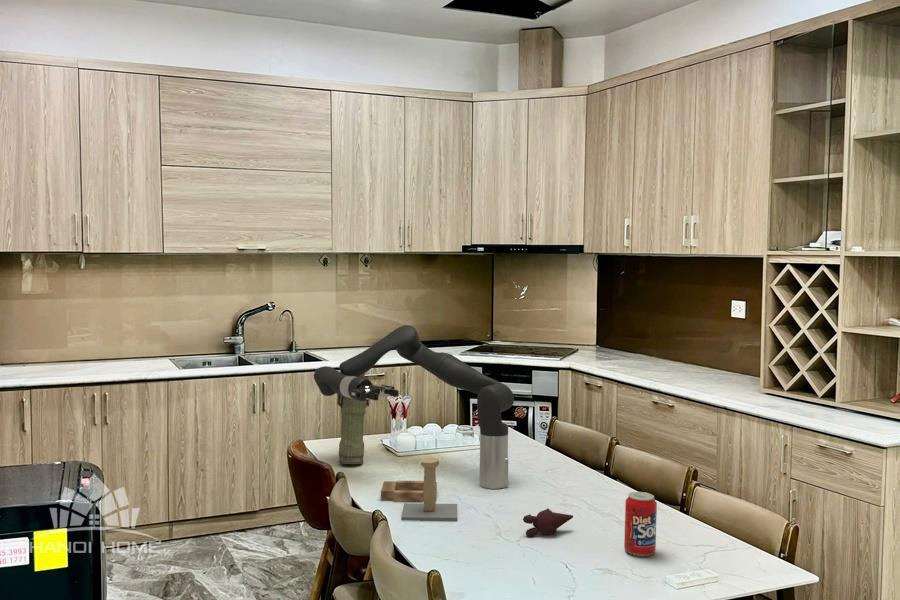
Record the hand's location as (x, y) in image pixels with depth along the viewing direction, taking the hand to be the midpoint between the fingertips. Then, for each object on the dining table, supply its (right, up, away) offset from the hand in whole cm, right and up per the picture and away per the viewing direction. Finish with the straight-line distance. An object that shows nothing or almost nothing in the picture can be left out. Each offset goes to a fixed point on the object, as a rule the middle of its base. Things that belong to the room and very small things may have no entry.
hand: (387, 395), depth 248 cm
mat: (+14, -32, -22) cm, 41 cm away
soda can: (+69, -35, -49) cm, 91 cm away
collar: (+7, -31, -6) cm, 32 cm away
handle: (+14, -31, -22) cm, 41 cm away
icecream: (+47, -34, -36) cm, 68 cm away
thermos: (-16, -28, +28) cm, 43 cm away
